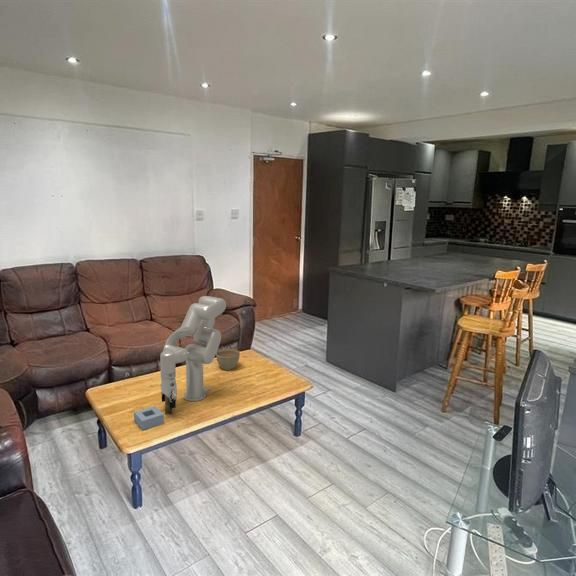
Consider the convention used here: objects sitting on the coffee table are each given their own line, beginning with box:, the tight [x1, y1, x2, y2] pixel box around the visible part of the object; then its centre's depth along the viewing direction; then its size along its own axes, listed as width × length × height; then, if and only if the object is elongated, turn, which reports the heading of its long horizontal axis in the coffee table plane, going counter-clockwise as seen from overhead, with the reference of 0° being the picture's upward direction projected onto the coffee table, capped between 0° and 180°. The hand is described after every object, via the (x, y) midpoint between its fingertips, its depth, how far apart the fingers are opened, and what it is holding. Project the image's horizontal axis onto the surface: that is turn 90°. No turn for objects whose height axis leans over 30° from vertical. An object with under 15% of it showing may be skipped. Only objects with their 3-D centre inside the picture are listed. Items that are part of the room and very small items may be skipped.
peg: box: [164, 395, 173, 416], centre depth 218 cm, size 4×4×12 cm
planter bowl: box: [215, 348, 241, 371], centre depth 281 cm, size 16×16×11 cm
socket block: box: [133, 405, 165, 431], centre depth 209 cm, size 11×11×5 cm
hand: (168, 404), depth 218 cm, fingers open, 9 cm apart
